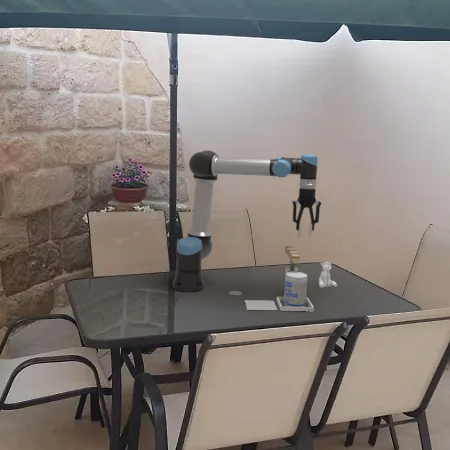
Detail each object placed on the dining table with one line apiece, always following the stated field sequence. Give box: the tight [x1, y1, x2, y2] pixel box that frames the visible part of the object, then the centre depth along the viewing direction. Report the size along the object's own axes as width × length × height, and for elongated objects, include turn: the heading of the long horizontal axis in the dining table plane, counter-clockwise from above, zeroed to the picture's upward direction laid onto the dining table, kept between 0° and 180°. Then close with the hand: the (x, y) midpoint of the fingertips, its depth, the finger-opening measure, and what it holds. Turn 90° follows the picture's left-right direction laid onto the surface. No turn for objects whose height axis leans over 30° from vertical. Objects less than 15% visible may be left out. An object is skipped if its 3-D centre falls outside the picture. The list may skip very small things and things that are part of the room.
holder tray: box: [276, 296, 315, 313], centre depth 265 cm, size 14×14×2 cm
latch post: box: [284, 266, 299, 278], centre depth 275 cm, size 5×5×14 cm
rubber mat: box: [244, 299, 278, 311], centre depth 264 cm, size 13×13×1 cm
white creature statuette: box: [318, 261, 338, 289], centre depth 299 cm, size 10×9×12 cm
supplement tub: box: [283, 271, 308, 307], centre depth 264 cm, size 10×10×15 cm
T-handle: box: [284, 244, 300, 269], centre depth 276 cm, size 22×3×8 cm, turn 2°
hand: (304, 237), depth 283 cm, fingers open, 4 cm apart
